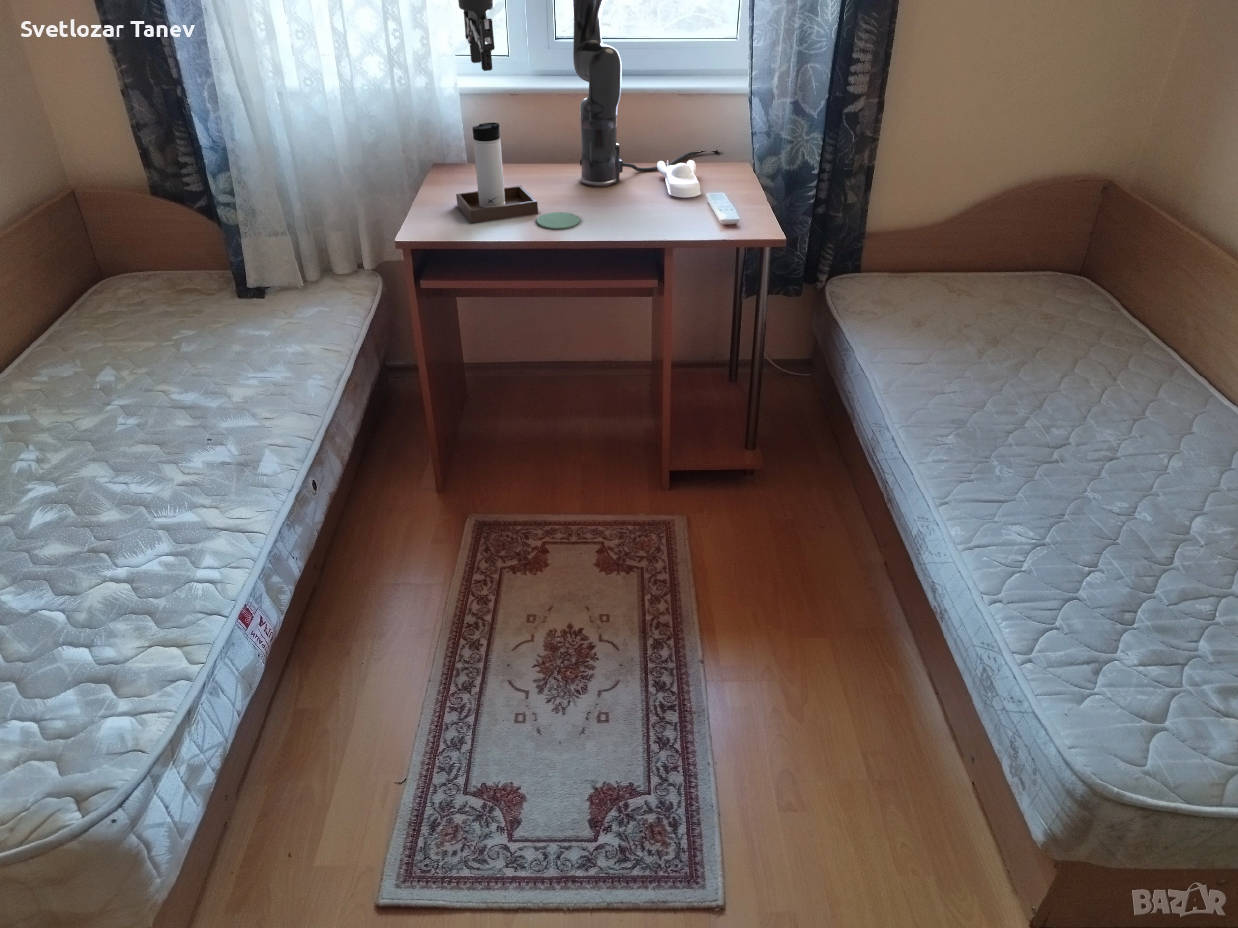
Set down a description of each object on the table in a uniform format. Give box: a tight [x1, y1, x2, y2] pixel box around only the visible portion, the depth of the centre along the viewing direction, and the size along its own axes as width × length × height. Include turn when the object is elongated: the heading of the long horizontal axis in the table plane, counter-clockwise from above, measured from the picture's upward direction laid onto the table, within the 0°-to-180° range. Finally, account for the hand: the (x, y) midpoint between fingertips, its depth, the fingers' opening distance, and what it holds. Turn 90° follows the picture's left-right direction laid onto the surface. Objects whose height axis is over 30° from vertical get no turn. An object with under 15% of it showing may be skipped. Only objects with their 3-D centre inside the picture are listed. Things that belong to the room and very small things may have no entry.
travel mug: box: [472, 122, 505, 208], centre depth 206 cm, size 6×7×20 cm
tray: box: [455, 185, 539, 224], centre depth 211 cm, size 17×13×3 cm
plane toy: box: [656, 159, 702, 198], centre depth 225 cm, size 10×20×6 cm, turn 4°
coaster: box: [536, 211, 580, 230], centre depth 206 cm, size 10×10×1 cm
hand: (481, 66), depth 193 cm, fingers open, 8 cm apart
